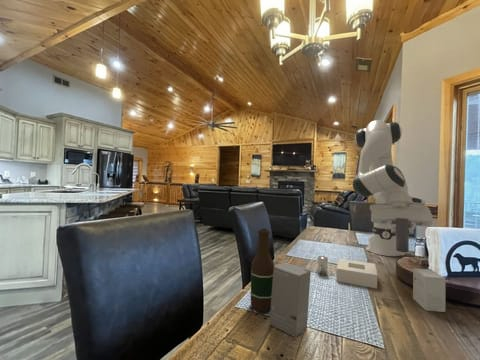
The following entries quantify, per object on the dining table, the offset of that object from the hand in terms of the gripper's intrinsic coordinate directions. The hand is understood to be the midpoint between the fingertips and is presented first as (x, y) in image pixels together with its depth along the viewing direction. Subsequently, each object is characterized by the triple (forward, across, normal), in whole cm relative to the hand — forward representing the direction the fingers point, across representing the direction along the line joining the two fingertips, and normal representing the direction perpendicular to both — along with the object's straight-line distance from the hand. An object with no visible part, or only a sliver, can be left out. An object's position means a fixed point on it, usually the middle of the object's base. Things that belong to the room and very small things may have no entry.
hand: (402, 232), depth 92 cm
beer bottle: (+40, -42, -12) cm, 59 cm away
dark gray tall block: (+4, 0, +5) cm, 7 cm away
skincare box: (+45, -32, -16) cm, 57 cm away
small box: (+23, +5, +7) cm, 24 cm away
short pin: (+14, -29, +15) cm, 35 cm away
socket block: (+13, -16, +16) cm, 26 cm away
